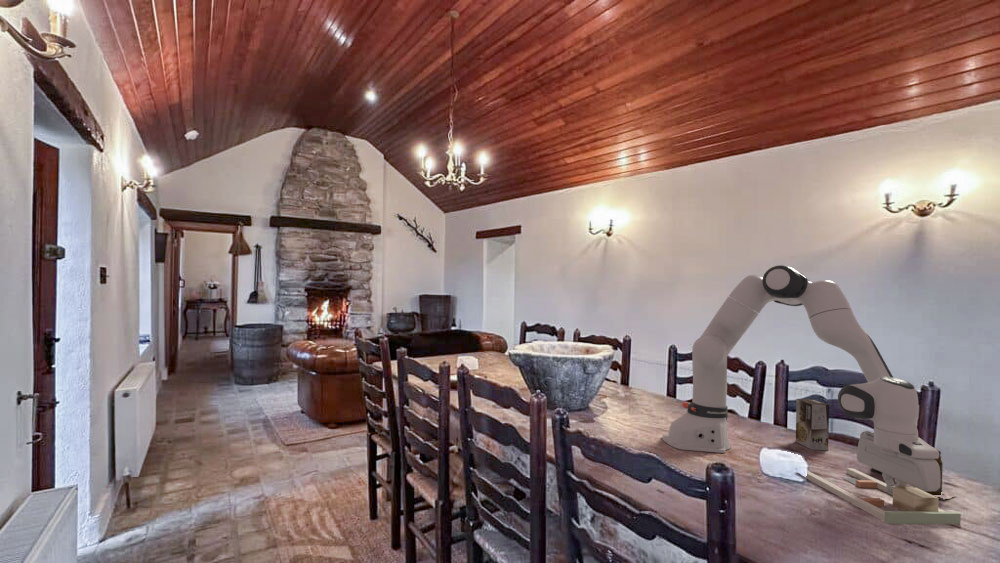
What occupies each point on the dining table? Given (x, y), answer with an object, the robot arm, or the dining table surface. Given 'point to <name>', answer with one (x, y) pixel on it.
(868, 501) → the frame
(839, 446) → the dining table surface
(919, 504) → the oak block
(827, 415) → the coffee box
